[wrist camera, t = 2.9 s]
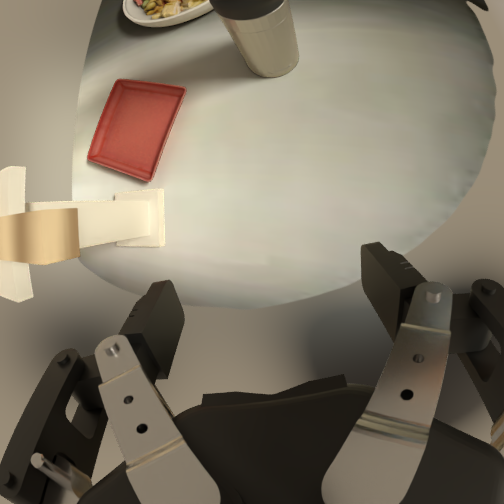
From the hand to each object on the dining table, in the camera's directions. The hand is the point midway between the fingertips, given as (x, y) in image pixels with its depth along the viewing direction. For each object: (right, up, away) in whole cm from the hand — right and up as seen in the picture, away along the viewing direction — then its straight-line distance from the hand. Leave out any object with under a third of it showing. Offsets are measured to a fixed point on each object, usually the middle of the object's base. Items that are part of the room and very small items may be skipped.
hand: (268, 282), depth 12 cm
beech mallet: (-22, +3, +6) cm, 23 cm away
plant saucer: (-22, +25, +36) cm, 50 cm away
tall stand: (-21, +8, +38) cm, 44 cm away
